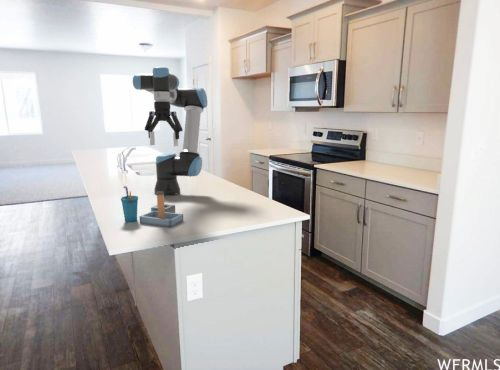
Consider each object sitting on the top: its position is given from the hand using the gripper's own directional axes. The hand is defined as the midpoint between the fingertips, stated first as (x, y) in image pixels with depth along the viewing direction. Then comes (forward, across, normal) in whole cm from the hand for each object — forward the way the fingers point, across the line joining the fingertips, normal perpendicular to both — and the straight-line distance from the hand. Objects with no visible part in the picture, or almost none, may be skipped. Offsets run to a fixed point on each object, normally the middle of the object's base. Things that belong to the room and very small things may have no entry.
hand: (164, 145), depth 176 cm
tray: (+32, +11, -20) cm, 39 cm away
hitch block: (+32, +5, -10) cm, 34 cm away
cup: (+32, -4, -23) cm, 40 cm away
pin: (+31, +11, -20) cm, 39 cm away
